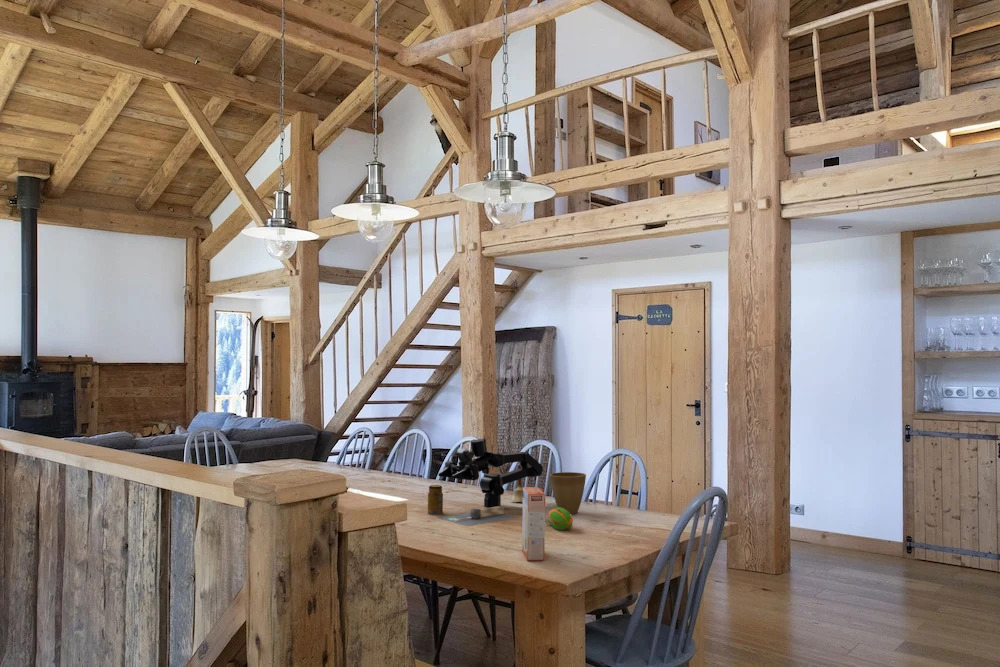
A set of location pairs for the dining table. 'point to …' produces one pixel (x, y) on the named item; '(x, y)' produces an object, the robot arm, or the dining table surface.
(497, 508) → the dial lever
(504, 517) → the grey board
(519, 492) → the hand bell
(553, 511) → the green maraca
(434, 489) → the condiment
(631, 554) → the dining table surface
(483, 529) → the dining table surface
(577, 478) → the plant pot
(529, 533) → the cracker box
